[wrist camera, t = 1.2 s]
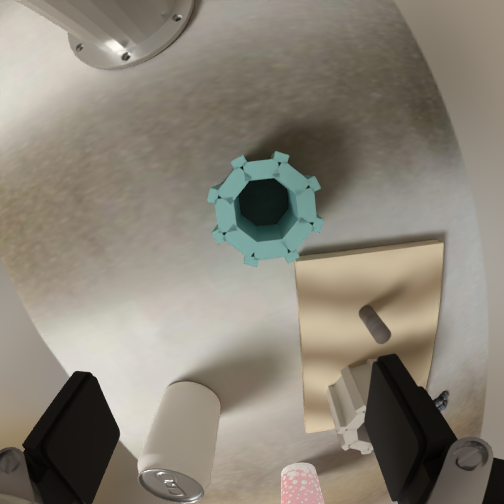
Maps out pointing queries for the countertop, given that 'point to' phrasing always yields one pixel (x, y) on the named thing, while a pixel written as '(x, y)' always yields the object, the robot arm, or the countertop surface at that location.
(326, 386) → the board
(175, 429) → the can
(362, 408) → the gear
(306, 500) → the beverage cup
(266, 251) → the teal gear
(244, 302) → the countertop surface
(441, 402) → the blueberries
